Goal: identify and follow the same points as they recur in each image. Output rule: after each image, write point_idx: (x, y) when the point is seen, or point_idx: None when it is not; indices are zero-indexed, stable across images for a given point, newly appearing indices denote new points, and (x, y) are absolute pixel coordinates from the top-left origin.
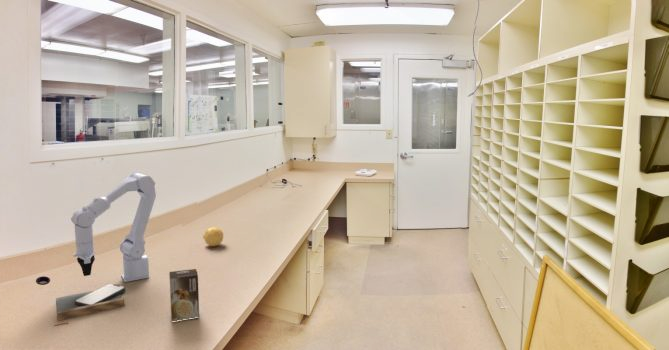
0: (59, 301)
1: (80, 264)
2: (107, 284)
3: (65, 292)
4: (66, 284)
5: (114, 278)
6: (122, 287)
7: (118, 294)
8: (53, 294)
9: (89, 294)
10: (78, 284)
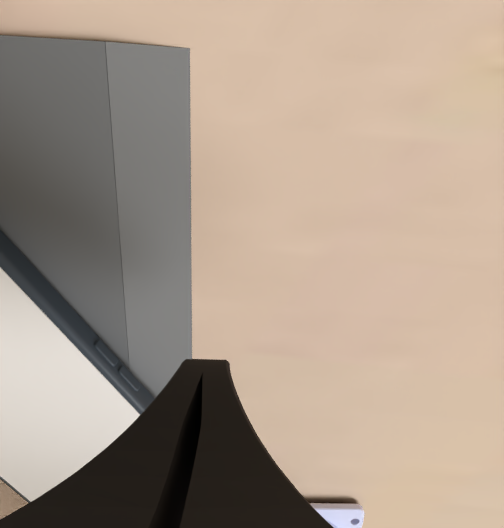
0: (69, 65)
1: (32, 510)
2: None
3: (282, 136)
4: (470, 162)
5: (345, 463)
6: None
7: None
8: (298, 29)
9: (16, 308)
10: (398, 249)
